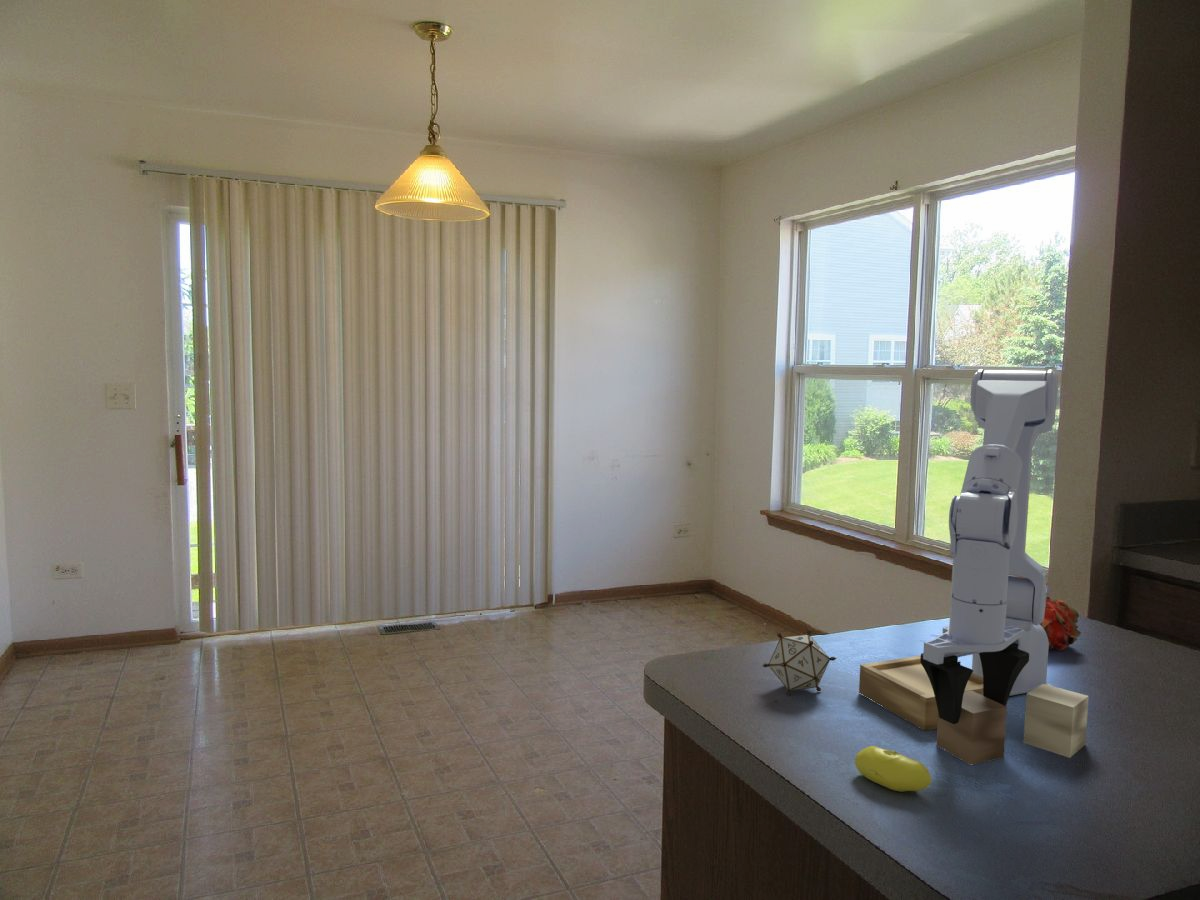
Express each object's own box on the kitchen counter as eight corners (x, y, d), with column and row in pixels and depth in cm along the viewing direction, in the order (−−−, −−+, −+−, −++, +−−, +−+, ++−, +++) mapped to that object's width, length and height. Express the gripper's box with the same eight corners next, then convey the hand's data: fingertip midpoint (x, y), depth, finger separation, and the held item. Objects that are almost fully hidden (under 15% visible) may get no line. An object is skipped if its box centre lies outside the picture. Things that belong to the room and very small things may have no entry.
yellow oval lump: (865, 766, 89) (866, 732, 89) (937, 793, 84) (939, 757, 83) (846, 779, 87) (847, 744, 86) (919, 808, 81) (921, 771, 80)
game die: (809, 721, 109) (838, 680, 103) (750, 694, 111) (775, 652, 104) (819, 670, 116) (847, 629, 110) (764, 645, 117) (788, 603, 111)
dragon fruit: (1061, 647, 134) (1041, 677, 125) (1017, 610, 137) (994, 637, 129) (1098, 615, 129) (1079, 643, 120) (1051, 577, 133) (1029, 603, 124)
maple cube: (1039, 730, 99) (1042, 683, 98) (1085, 745, 95) (1088, 696, 94) (1023, 742, 95) (1026, 693, 95) (1069, 758, 92) (1073, 707, 91)
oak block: (928, 682, 114) (929, 654, 113) (998, 716, 103) (1000, 685, 102) (858, 693, 109) (860, 664, 109) (924, 730, 98) (926, 698, 98)
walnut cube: (969, 739, 96) (971, 690, 96) (1003, 757, 92) (1006, 706, 91) (936, 745, 94) (939, 696, 94) (970, 765, 90) (973, 713, 89)
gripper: (990, 583, 98) (984, 691, 99) (904, 596, 92) (898, 712, 93) (1045, 597, 92) (1037, 713, 93) (956, 613, 85) (949, 736, 87)
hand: (971, 714), depth 93 cm, fingers open, 7 cm apart
